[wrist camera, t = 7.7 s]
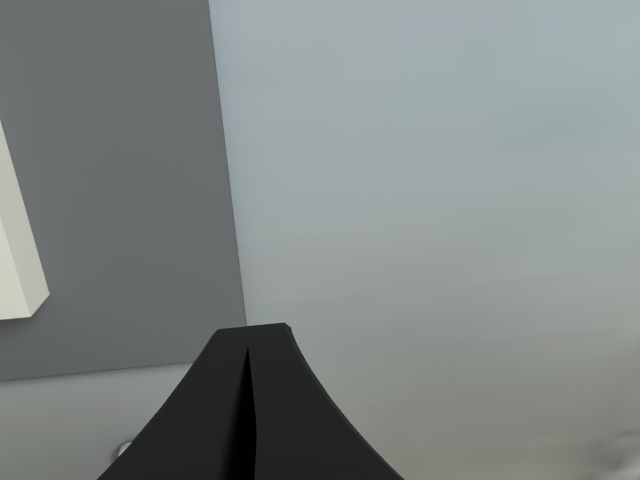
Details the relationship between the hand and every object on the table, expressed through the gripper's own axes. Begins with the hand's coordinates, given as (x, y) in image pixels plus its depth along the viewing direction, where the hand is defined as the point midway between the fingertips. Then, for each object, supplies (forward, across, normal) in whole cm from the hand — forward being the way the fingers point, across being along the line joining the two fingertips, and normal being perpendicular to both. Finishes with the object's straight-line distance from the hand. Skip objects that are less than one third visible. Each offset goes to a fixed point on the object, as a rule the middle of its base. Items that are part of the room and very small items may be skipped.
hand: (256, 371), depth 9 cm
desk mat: (+10, +8, -2) cm, 13 cm away
